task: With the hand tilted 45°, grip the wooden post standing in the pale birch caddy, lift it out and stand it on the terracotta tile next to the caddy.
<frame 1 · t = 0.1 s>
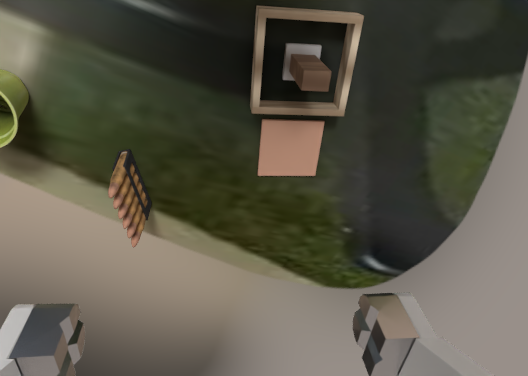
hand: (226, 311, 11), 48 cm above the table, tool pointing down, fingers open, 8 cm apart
wooden post: (307, 70, 51), in the birch caddy
plant pot: (6, 90, 53), on the table
ammunition clip: (136, 177, 62), on the table
terracotta tile: (289, 148, 63), on the table
birch caddy: (300, 61, 55), on the table
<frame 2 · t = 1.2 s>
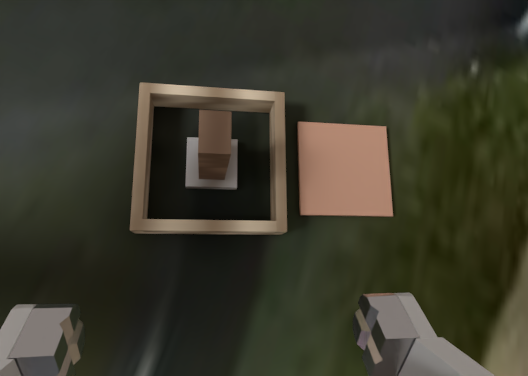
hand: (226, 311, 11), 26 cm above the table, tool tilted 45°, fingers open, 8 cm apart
wooden post: (213, 150, 34), in the birch caddy
terracotta tile: (343, 169, 41), on the table
birch caddy: (211, 164, 38), on the table
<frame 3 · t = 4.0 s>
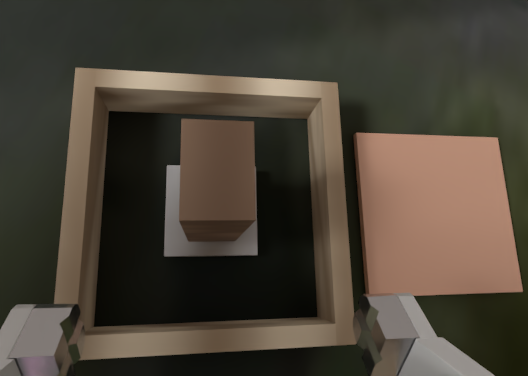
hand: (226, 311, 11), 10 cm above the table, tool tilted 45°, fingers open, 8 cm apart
wooden post: (213, 196, 17), in the birch caddy
terracotta tile: (433, 212, 24), on the table
birch caddy: (211, 212, 22), on the table
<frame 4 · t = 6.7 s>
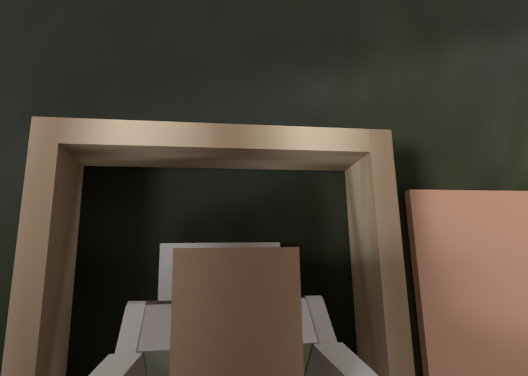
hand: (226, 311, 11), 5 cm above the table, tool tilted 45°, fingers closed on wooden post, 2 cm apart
wooden post: (225, 314, 12), in the birch caddy, touching gripper
terracotta tile: (511, 293, 18), on the table
birch caddy: (220, 303, 16), on the table
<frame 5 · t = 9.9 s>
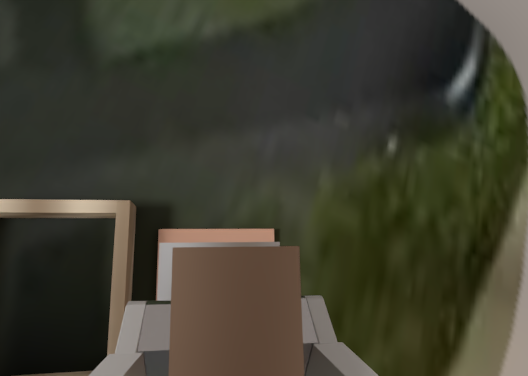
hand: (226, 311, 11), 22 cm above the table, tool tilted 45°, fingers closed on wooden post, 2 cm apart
wooden post: (225, 314, 12), point 22 cm above the table, touching gripper
terracotta tile: (217, 287, 33), on the table
birch caddy: (40, 292, 30), on the table
when the fingers open (7 cm above the table, at t = 13.4 s): wooden post drops 1 cm, resting on terracotta tile.
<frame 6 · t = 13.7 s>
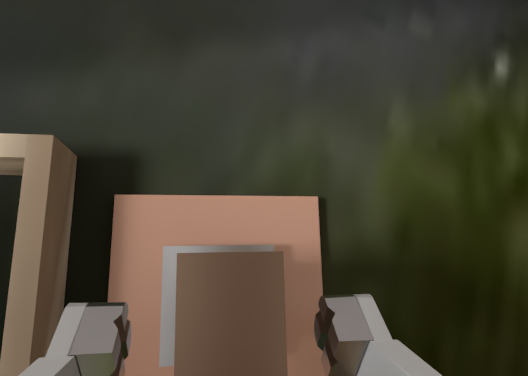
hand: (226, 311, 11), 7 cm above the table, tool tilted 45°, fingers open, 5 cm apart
wooden post: (222, 310, 13), on the terracotta tile
terracotta tile: (219, 299, 18), on the table
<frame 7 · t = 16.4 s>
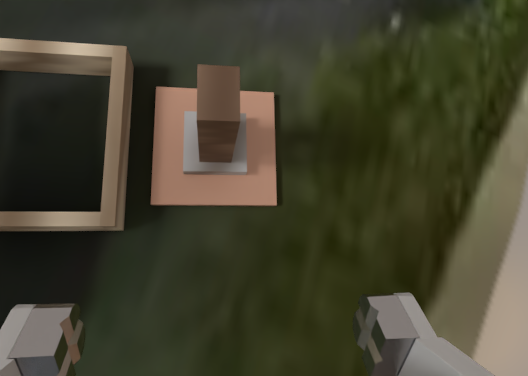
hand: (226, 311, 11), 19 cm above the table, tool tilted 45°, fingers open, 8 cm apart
wooden post: (216, 123, 27), on the terracotta tile
terracotta tile: (215, 147, 32), on the table
birch caddy: (36, 142, 30), on the table
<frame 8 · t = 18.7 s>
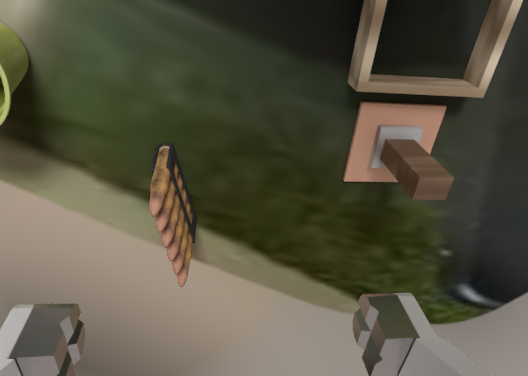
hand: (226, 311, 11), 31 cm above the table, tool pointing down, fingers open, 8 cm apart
wooden post: (411, 164, 41), on the terracotta tile
ammunition clip: (177, 183, 45), on the table
terracotta tile: (391, 143, 45), on the table
birch caddy: (429, 15, 38), on the table
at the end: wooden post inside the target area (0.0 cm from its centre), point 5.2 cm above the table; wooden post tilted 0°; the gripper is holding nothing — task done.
